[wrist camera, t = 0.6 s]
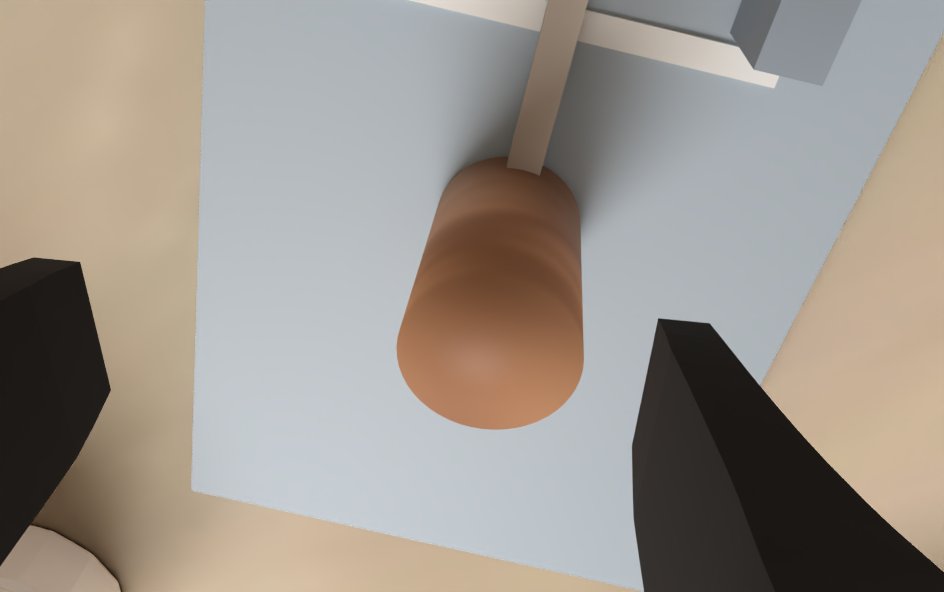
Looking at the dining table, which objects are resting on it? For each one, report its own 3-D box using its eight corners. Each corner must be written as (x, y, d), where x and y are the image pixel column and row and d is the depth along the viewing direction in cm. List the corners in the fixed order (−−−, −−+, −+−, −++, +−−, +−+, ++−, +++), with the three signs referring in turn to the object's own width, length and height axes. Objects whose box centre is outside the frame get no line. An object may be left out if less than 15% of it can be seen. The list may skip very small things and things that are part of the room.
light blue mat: (1299, -743, 11) (1580, -944, 8) (648, 561, 25) (659, 666, 22) (269, -1025, 11) (147, -1353, 7) (206, 462, 25) (156, 555, 22)
